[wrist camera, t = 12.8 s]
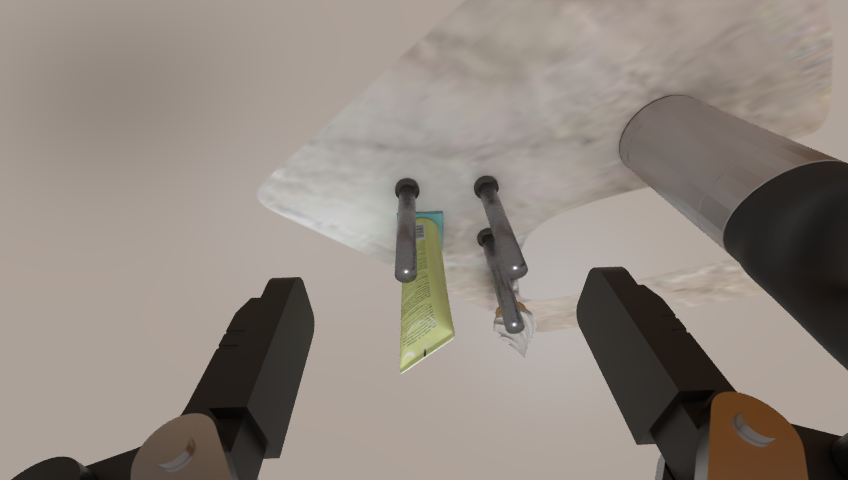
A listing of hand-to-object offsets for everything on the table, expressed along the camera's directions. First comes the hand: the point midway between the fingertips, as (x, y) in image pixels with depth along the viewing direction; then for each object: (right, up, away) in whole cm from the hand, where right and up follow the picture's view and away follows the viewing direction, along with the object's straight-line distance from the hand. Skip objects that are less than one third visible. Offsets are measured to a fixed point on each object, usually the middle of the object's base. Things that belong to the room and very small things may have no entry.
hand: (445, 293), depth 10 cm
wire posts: (+3, +5, +36) cm, 37 cm away
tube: (-1, +3, +38) cm, 38 cm away
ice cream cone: (+11, -3, +43) cm, 45 cm away
